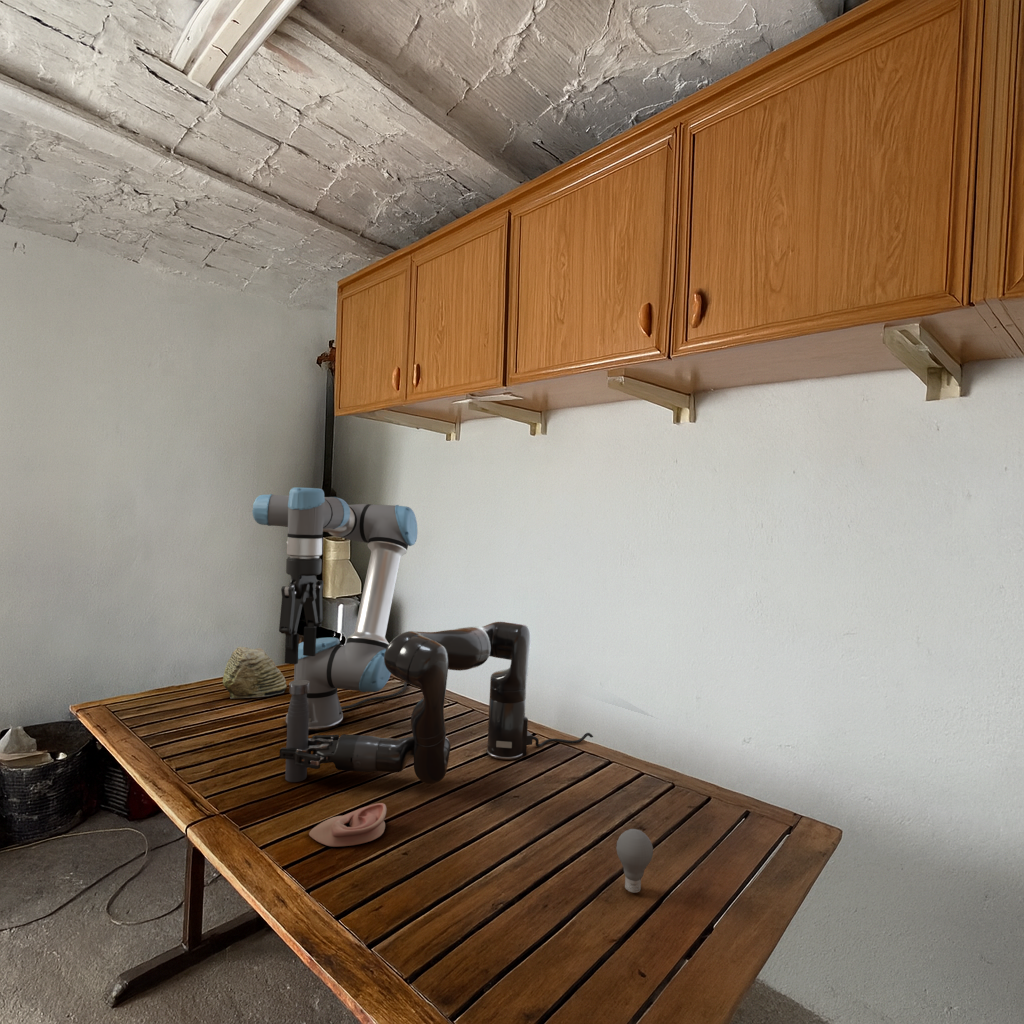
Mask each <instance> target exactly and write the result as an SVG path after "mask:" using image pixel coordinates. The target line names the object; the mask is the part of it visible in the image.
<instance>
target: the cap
mask: <svg viewBox="0 0 1024 1024" xmlns="http://www.w3.org/2000/svg"><path fill="white" fill-rule="evenodd" d="M309 688H310V682H309V681H307V680H294V679H293V680H292V681H289V685H288V693H289V694H290V695H291V696H292V695H303V694H307V693H309Z"/></svg>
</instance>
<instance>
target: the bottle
mask: <svg viewBox="0 0 1024 1024" xmlns="http://www.w3.org/2000/svg"><path fill="white" fill-rule="evenodd" d="M306 695H307V694H303V695H292V694H291V697H290V701H289V705H288V709H287V713H288V717H287V726H286V743H285V744H286V745H285V748H297V749H299V748H308V738H309V732H308V729H309V708H308V701H307V697H306ZM303 753H307V752H303ZM295 762H296V760H295V759H285V772H284V773H285V775H284V779H285V781H286V782H288V783H299V782H302V781H304V780H306V779H307V777H308V767H304V766H299V765H295ZM303 762H304V761H303Z"/></svg>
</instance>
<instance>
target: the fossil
mask: <svg viewBox="0 0 1024 1024" xmlns="http://www.w3.org/2000/svg"><path fill="white" fill-rule="evenodd" d="M222 676H223V677H222V685H223V687H224V688H225V690H226V691H228V693H229V698H230V699H250V698H264V697H271V696H275V695H281V694H284V693H285V691H286V689H287V687H288V686H287V680H286V678H285V676H284V674H283V673H282V672H281V669H279V668H278V667H277V665H276V663H275V662H274V660H273V659H272V658H271V657H270V656H269V655H268V654H267V653H266V652H265V650H264V649H263V648H260V647H258V648H251V647H247V646H246V647H245V646H238V647H237V648H236V649H235V650H233V651H232V653H231V656H230V657H229V659H228V660H227V663H226V666H225V668H224V671H223V675H222Z"/></svg>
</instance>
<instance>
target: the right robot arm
mask: <svg viewBox="0 0 1024 1024" xmlns="http://www.w3.org/2000/svg"><path fill="white" fill-rule="evenodd" d="M531 645H532V633H531V629H530V628H529V626H527V624H522V623H516V622H509V621H495V622H491V623H488V624H486V625H483V626H466V627H458V628H453V629H446V630H445V629H444V630H438V631H417V630H416V631H415V630H406V631H404V632H402V633H400V634H398V635H397V636H395V637H394V638H393V639H392V640H391V641H390V642H389V645H388V647H387V649H386V651H385V655H384V662H385V666H386V668H387V669H388V671H389V672H390V673H391V675H392V676H394V677H395V678H397V679H399V680H401V681H403V682H407V684H409V685H411V686H413V687H415V688H419V689H420V691H421V693H422V698H421V699H420V700H419V701H418V702H417V703H416V704H415V706H414V707H413V709H412V711H411V716H410V727H411V733H412V736H407V737H403V738H391V737H390V738H389V737H379V736H373V735H363V734H361V735H360V734H345V733H343V734H341V735H340V734H319V735H318V734H317V735H315V734H314V735H312V737H308V748H299V749H297V748H286V747H285V746H284V747H280V749H279V754H278V755H279V758H280V759H281V760H286V759H295V760H296V762H295V765H299V766H304V767H307V769H308V768H309V769H314V770H320V768H321V765H322V764H331V763H333V764H334V767H335V769H336V770H337V771H346V772H361V773H362V772H363V773H372V772H380V773H381V772H383V773H392V774H393V773H394V774H395V773H396V774H397V773H401V772H403V771H404V770H405V768H406V766H407V764H408V762H409V761H410V760H411V759H413V770H414V775H415V776H416V778H417V779H418V780H419V781H420V782H421V783H424V784H426V785H436V784H438V783H440V782H441V781H442V780H443V779H444V778H445V777H446V774H447V771H448V765H449V759H450V754H451V742H450V740H449V738H447V729H446V721H445V720H446V719H445V702H446V694H447V693H446V692H447V687H448V686H447V685H448V675H449V671H459V672H461V671H467V670H472V669H476V668H479V667H480V666H482V665H484V664H485V663H486V662H487V661H488V659H489V658H490V657H491V658H494V659H502V660H508V661H510V664H509V665H510V666H509V667H508V668H505V669H500V670H496V671H495V672H492V673H491V675H490V680H489V681H490V682H489V702H488V703H489V704H488V722H487V723H488V724H487V746H486V747H487V748H486V754H487V755H488V756H489V757H490V758H493V759H497V760H500V761H501V760H502V761H511V760H517V759H521V758H522V757H524V756H527V752H528V751H527V749H528V746H532V745H533V740H534V741H535V747H537V748H541V747H543V746H545V745H546V744H548V743H553V742H555V743H563V744H564V743H565V744H574V745H575V744H580V743H581V742H583V741H584V740H585V739H586V738H587V737H589V738H594V735H593V734H592V733H590V732H586V733H585V734H583V736H581V737H580V738H578V739H576V740H575V739H574V740H569V739H564V738H548V739H546V740H543V742H541V743H539V742H540V741H539V740H540V739H539V738H538V737H537V736H535V735H533V734H532V733H531V732H530V731H528V727H529V717H527V716H526V701H527V681H528V676H529V668H530V667H529V665H530V655H531V647H532V646H531ZM303 752H307V753H303ZM303 761H304V762H303Z"/></svg>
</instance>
